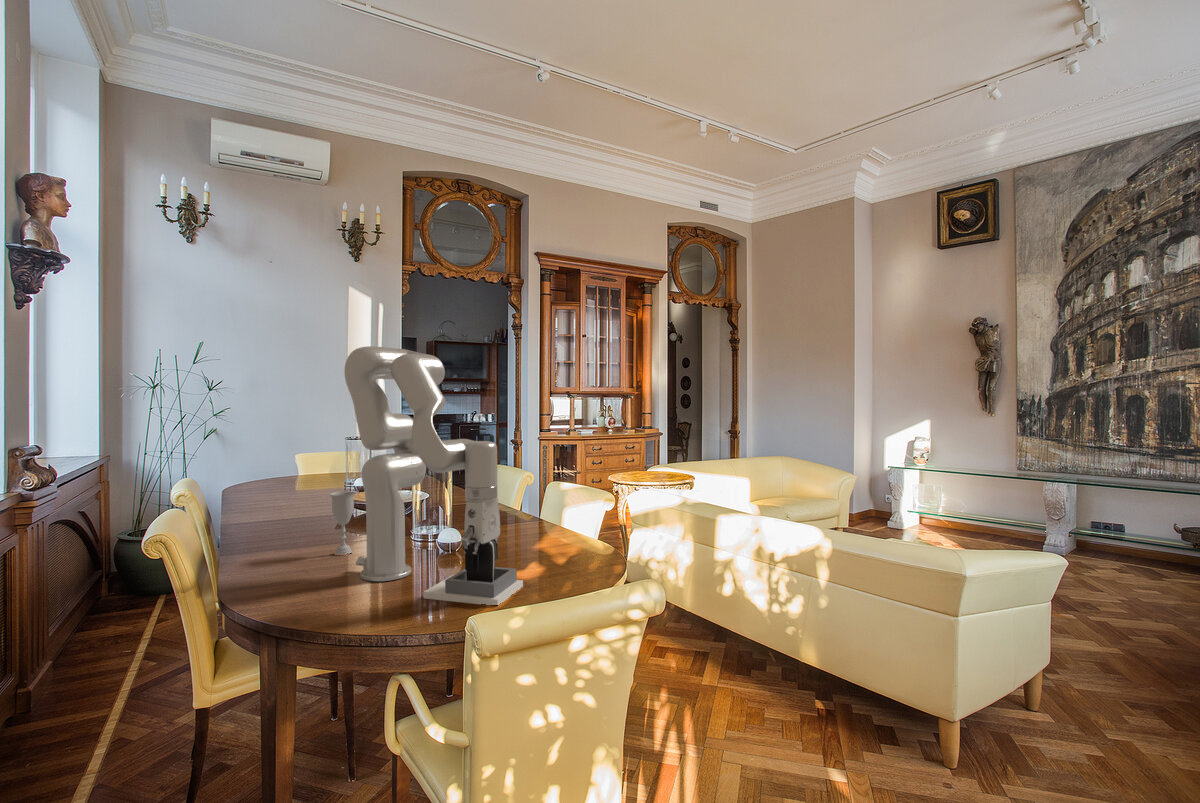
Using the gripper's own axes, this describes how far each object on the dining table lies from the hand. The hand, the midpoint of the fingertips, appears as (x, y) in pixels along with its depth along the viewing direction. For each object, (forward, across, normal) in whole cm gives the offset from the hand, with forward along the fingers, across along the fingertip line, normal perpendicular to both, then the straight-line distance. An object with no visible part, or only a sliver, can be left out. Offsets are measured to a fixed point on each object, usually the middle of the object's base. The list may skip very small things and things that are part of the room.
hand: (481, 564), depth 142 cm
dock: (+7, 0, +2) cm, 7 cm away
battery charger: (+6, 0, 0) cm, 6 cm away
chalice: (+7, +20, +56) cm, 60 cm away
